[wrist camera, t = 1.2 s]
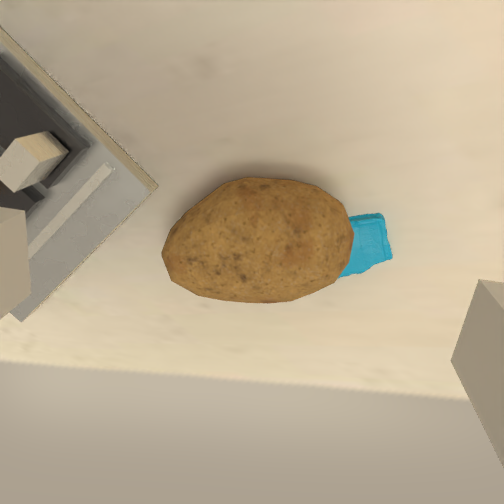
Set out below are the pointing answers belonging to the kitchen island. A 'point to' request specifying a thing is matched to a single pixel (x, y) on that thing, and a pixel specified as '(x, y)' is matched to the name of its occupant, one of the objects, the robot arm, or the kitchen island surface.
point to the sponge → (367, 243)
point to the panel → (57, 196)
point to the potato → (260, 242)
